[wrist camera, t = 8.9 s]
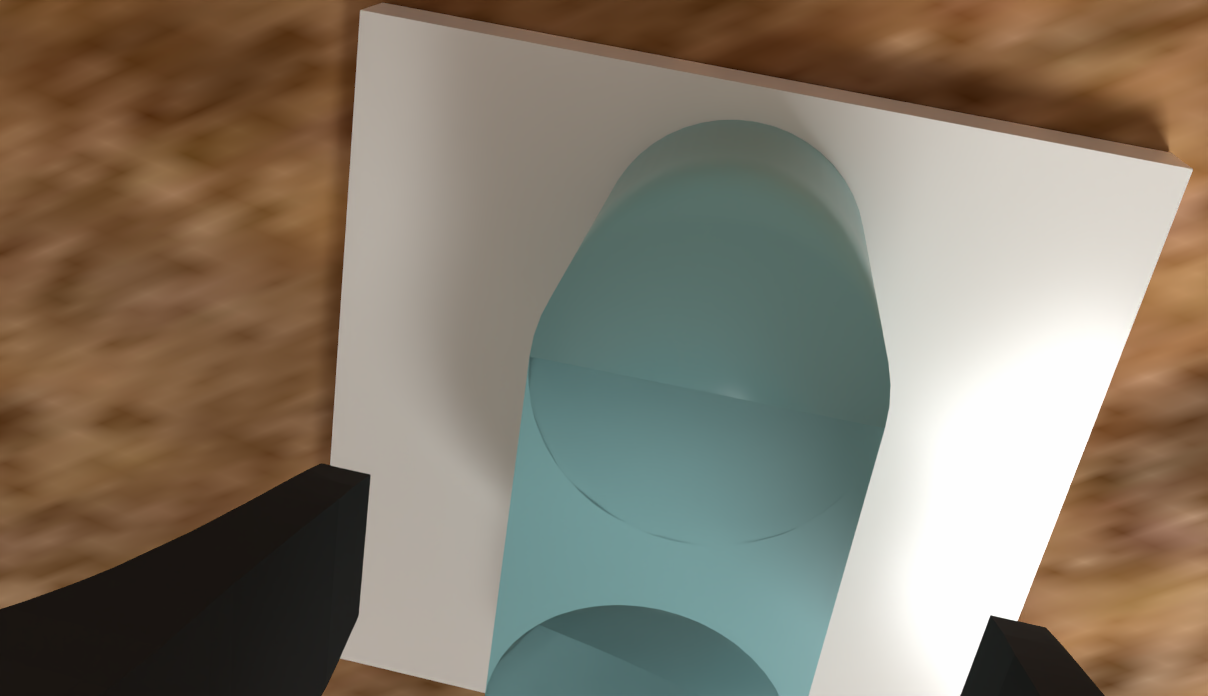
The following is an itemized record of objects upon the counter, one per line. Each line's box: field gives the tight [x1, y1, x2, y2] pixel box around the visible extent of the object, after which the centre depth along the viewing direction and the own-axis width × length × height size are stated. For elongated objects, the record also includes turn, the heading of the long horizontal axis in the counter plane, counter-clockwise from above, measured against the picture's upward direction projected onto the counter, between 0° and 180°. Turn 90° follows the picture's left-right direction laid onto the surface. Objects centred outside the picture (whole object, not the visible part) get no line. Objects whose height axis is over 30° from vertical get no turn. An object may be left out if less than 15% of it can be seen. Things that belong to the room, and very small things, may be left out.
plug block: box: [485, 120, 891, 696], centre depth 16 cm, size 4×11×5 cm, turn 172°
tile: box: [330, 3, 1193, 696], centre depth 19 cm, size 12×12×1 cm
